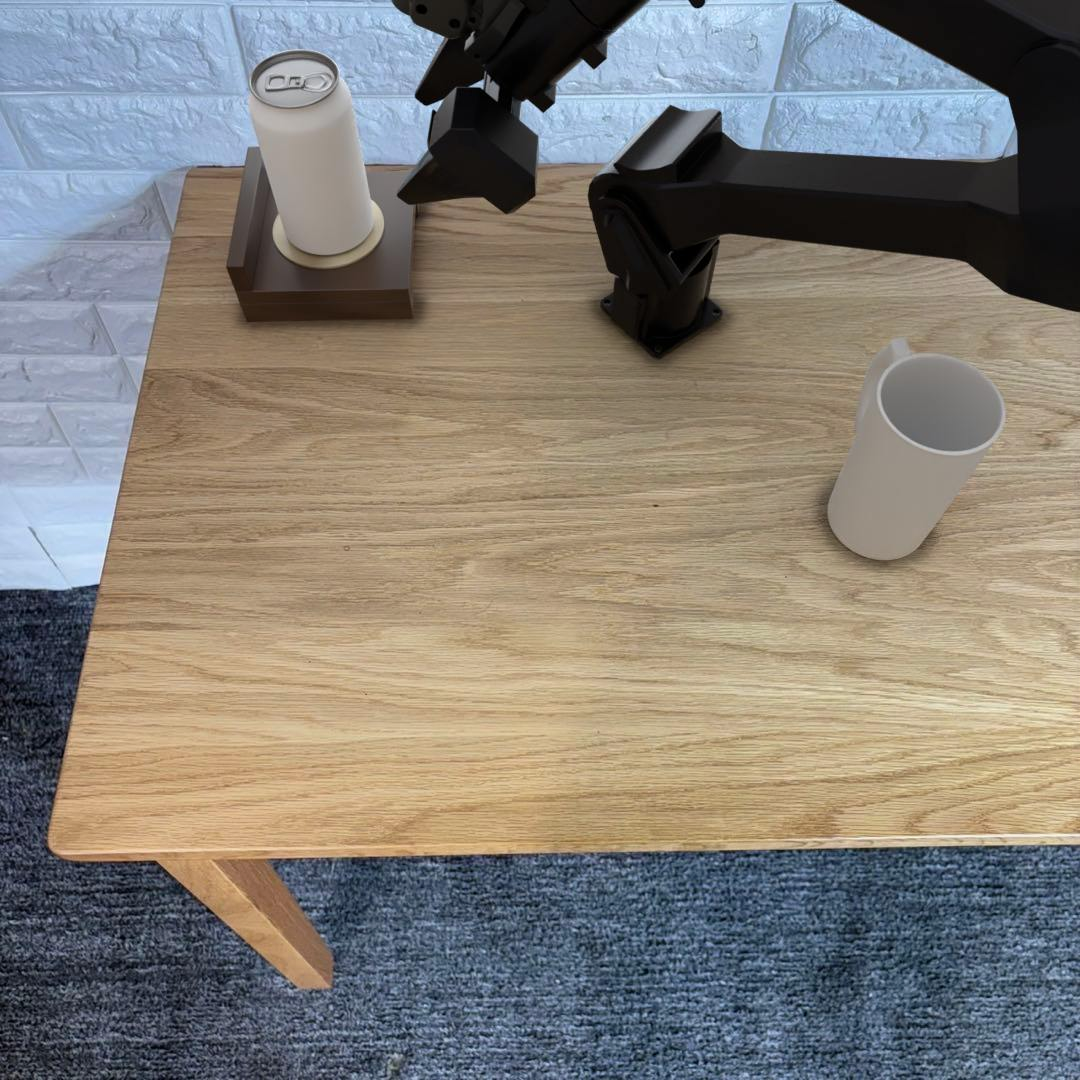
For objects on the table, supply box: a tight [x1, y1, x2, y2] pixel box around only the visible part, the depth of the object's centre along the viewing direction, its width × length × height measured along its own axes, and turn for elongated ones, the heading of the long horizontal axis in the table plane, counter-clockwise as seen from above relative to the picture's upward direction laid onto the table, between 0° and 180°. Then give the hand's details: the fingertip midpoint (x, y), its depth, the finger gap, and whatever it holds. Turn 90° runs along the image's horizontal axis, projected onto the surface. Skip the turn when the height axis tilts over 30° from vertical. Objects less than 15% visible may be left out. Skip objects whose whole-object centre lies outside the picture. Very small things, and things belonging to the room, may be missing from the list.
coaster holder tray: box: [225, 146, 421, 322], centre depth 72 cm, size 12×12×5 cm
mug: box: [826, 337, 1007, 561], centre depth 59 cm, size 10×7×12 cm, turn 10°
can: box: [248, 48, 374, 256], centre depth 67 cm, size 6×6×12 cm
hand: (411, 147), depth 64 cm, fingers open, 9 cm apart
